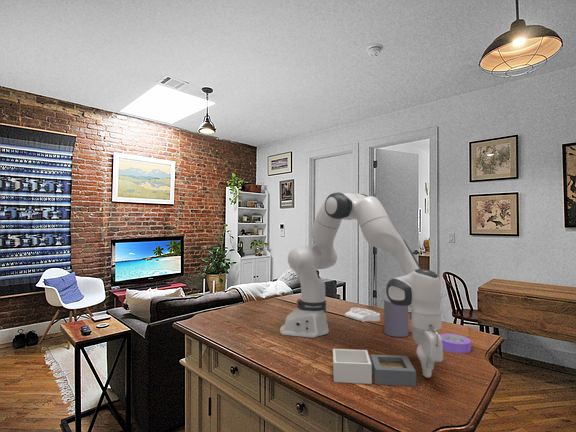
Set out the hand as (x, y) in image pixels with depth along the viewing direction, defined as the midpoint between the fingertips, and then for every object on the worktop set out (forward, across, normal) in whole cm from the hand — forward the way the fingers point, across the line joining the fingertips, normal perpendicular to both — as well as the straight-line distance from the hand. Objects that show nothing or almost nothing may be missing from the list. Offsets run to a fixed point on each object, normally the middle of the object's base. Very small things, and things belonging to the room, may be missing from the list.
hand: (426, 364), depth 107 cm
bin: (+4, 0, +24) cm, 24 cm away
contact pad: (+2, 0, +11) cm, 11 cm away
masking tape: (+5, +28, -19) cm, 34 cm away
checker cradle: (+4, 0, +11) cm, 12 cm away
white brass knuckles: (+5, +68, +12) cm, 69 cm away
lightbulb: (+4, 0, 0) cm, 4 cm away
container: (+5, +43, 0) cm, 43 cm away
